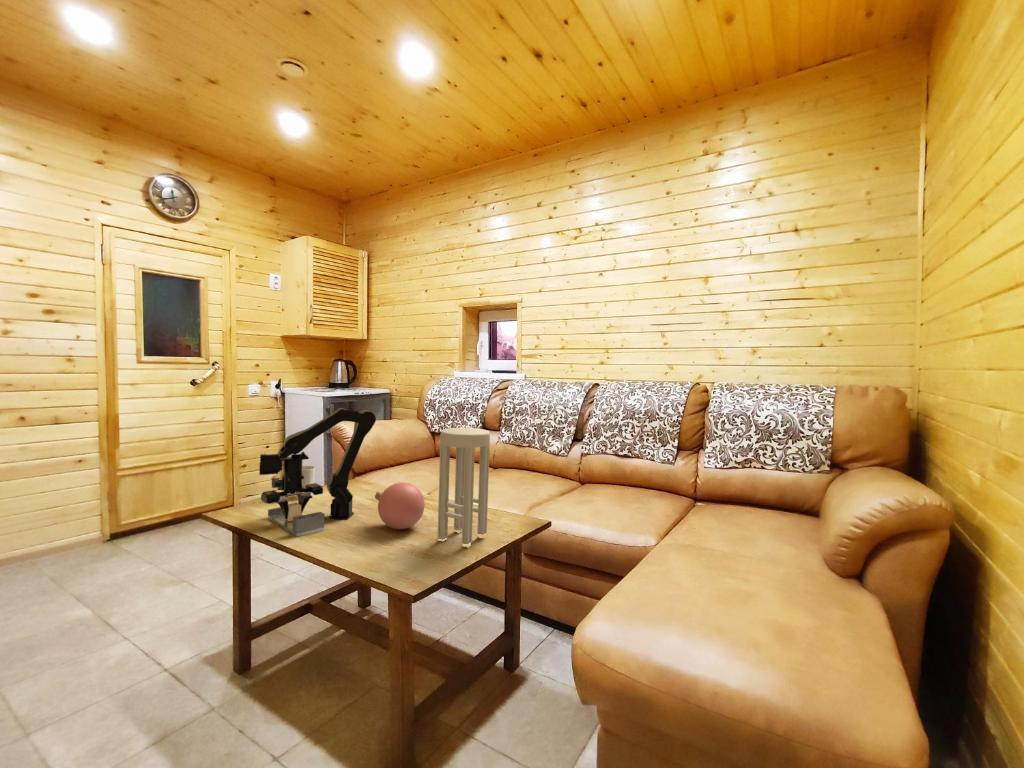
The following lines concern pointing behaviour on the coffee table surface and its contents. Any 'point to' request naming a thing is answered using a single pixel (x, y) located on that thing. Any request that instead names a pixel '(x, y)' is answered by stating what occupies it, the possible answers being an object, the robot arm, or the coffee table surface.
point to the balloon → (400, 505)
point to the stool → (463, 481)
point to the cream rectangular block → (293, 511)
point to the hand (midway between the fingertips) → (292, 517)
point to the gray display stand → (298, 522)
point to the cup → (308, 476)
